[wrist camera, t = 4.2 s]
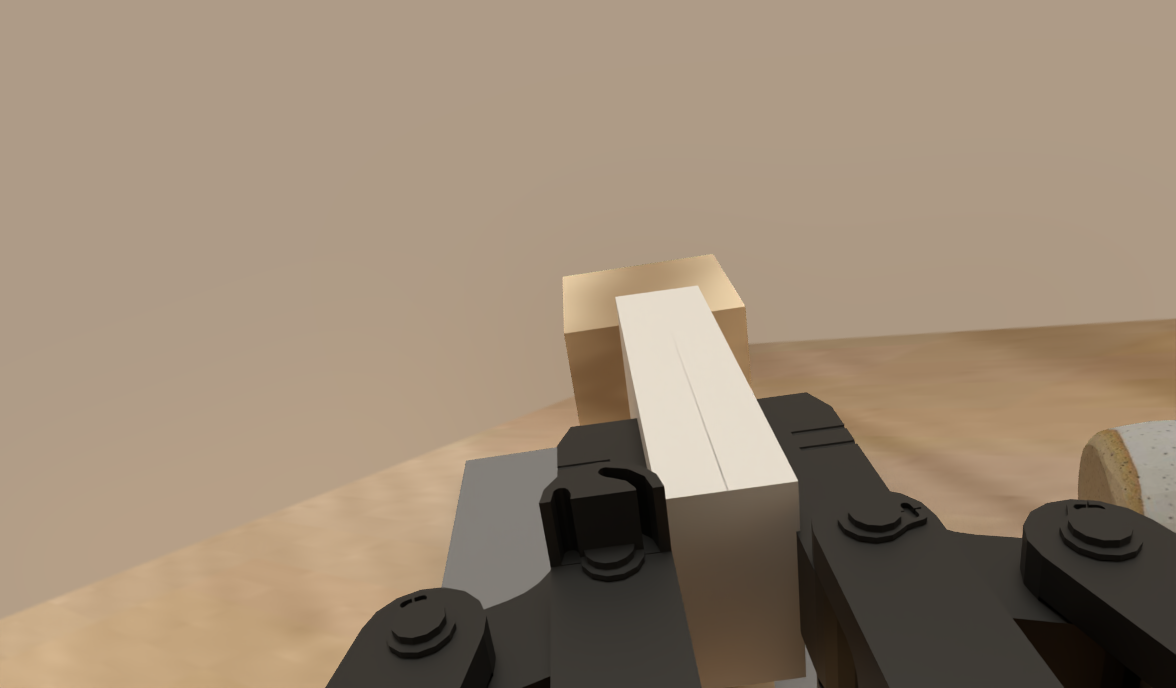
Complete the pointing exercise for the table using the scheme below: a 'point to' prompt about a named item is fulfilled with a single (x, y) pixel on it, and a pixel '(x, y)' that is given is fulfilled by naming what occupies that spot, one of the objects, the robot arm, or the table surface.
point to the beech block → (599, 337)
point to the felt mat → (513, 533)
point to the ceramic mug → (1133, 469)
